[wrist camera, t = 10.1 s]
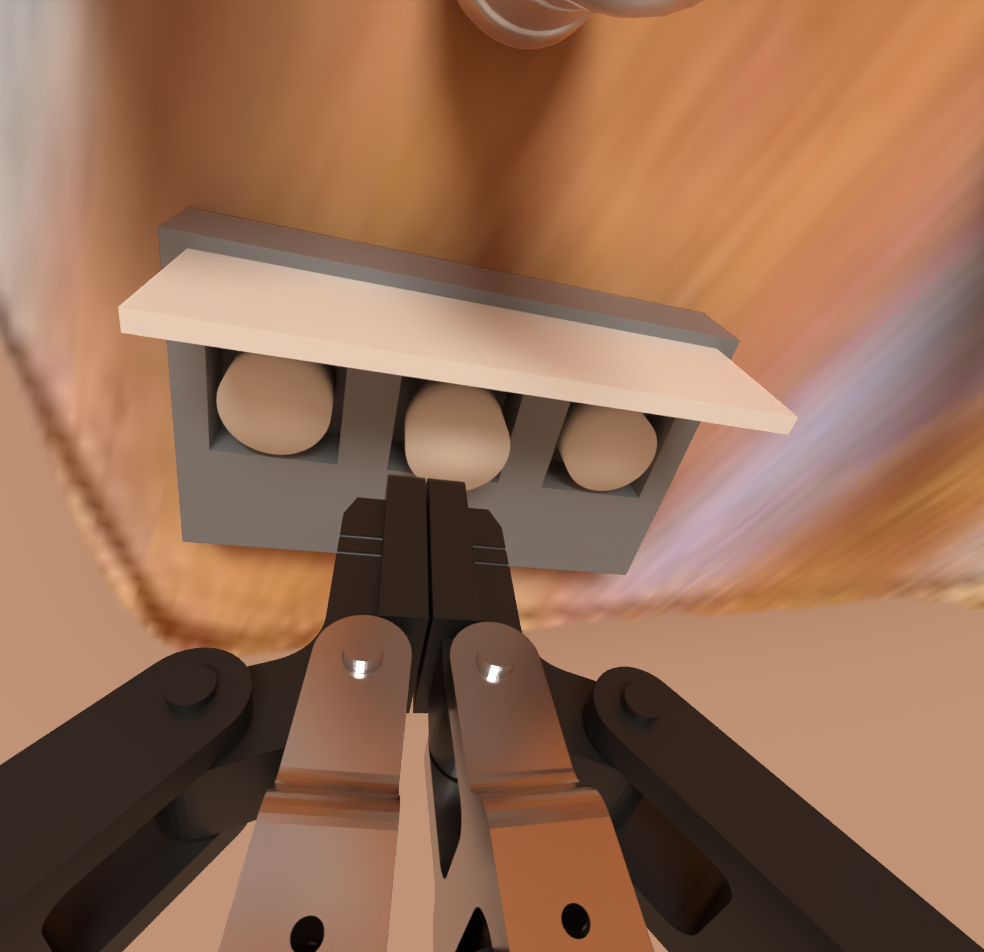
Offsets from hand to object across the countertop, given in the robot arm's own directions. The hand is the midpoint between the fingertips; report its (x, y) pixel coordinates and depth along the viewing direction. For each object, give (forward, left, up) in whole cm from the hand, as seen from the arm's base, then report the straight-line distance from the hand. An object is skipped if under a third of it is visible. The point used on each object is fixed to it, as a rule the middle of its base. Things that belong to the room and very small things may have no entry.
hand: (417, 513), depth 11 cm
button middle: (-4, +7, -17) cm, 19 cm away
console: (-4, +8, -20) cm, 22 cm away
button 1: (+5, +7, -19) cm, 20 cm away
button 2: (-12, +7, -19) cm, 23 cm away
